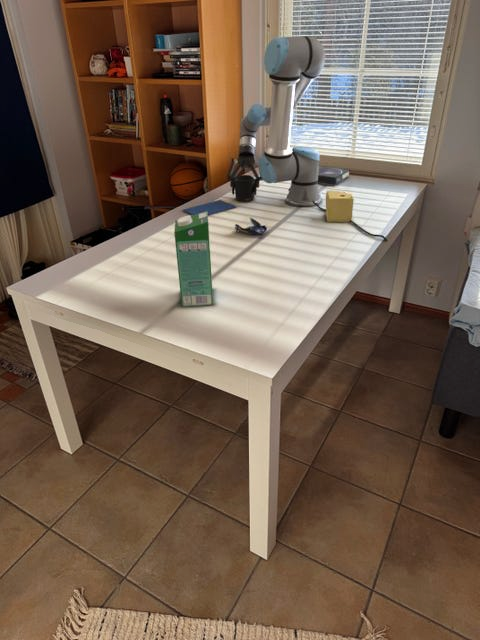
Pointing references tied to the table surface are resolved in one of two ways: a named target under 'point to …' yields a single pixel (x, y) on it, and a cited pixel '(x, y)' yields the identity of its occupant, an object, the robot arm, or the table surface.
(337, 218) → the cheese
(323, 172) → the portable cd player
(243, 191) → the pen holder
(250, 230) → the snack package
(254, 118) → the robot arm
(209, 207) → the blue cloth
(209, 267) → the milk carton
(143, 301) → the table surface
